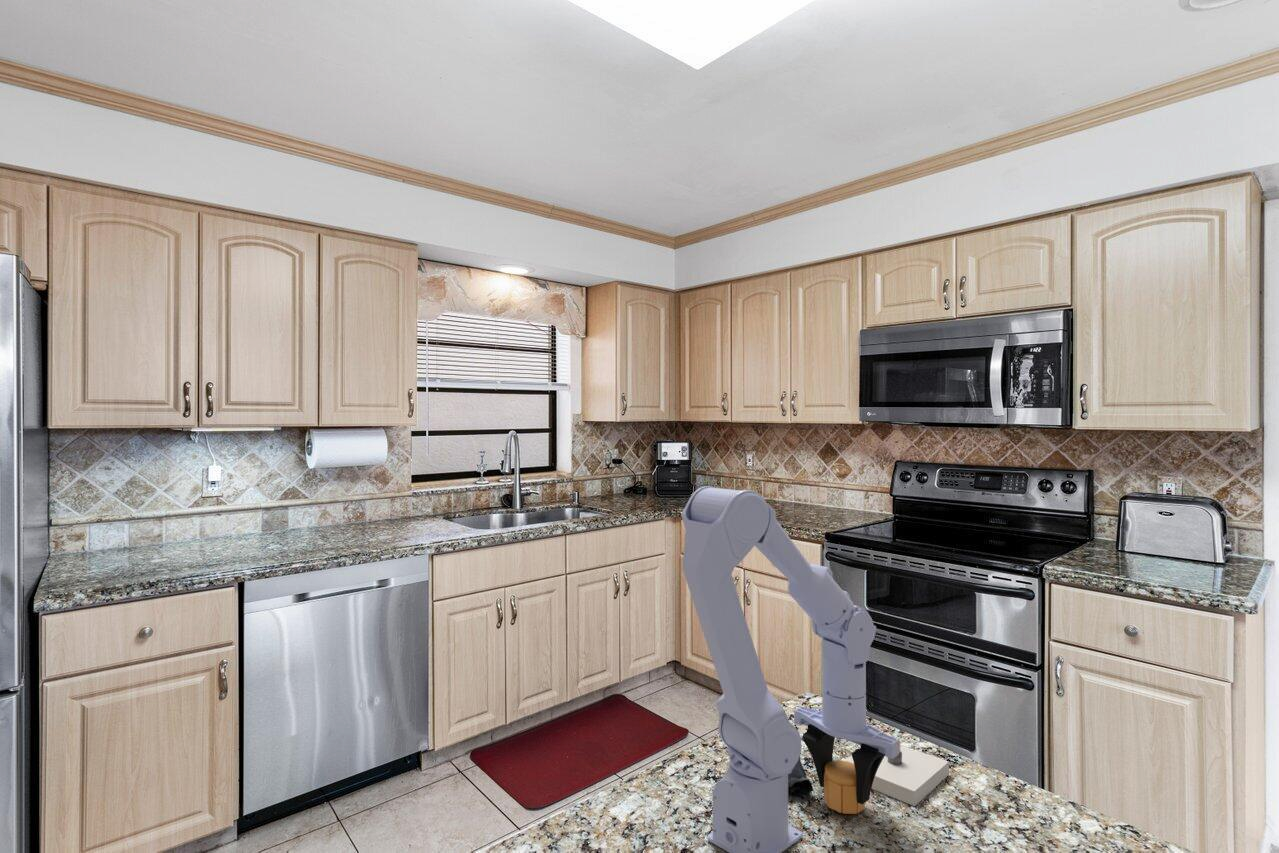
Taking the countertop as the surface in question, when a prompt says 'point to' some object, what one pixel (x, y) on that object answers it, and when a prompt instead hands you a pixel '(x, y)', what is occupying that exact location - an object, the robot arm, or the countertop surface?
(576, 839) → the countertop surface
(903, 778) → the white base plate
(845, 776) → the orange acorn nut
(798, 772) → the electronic device
